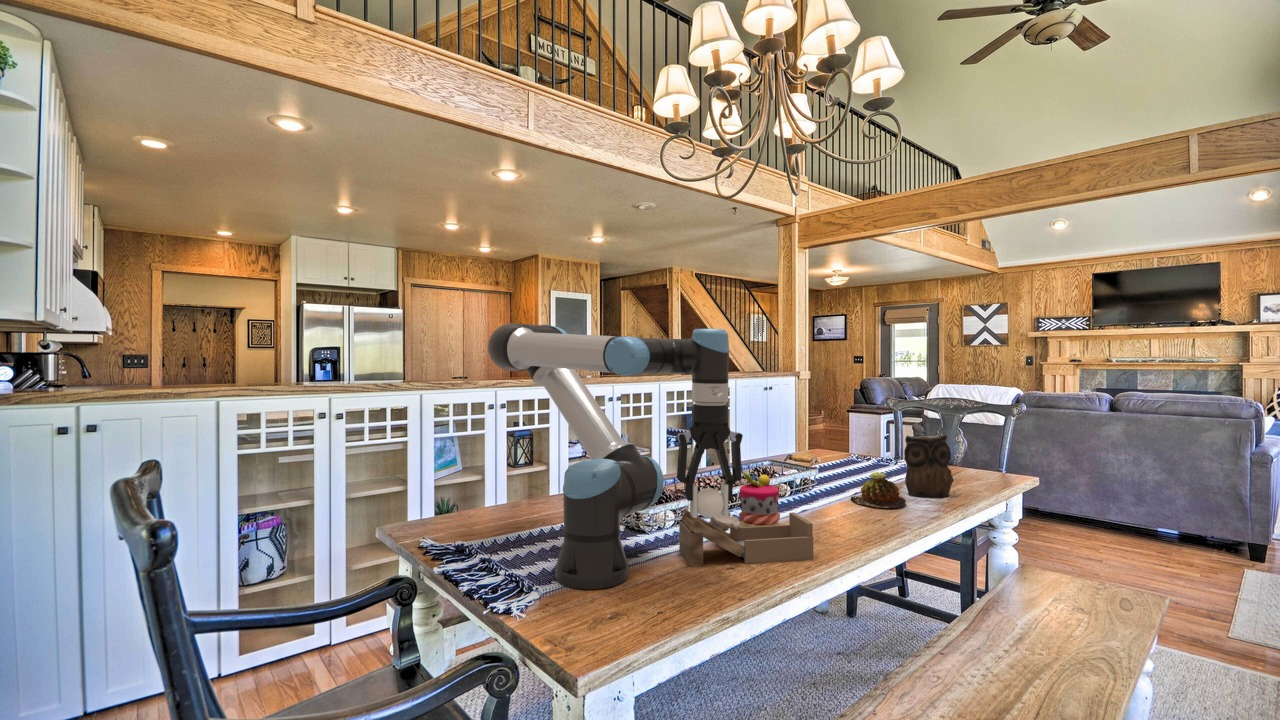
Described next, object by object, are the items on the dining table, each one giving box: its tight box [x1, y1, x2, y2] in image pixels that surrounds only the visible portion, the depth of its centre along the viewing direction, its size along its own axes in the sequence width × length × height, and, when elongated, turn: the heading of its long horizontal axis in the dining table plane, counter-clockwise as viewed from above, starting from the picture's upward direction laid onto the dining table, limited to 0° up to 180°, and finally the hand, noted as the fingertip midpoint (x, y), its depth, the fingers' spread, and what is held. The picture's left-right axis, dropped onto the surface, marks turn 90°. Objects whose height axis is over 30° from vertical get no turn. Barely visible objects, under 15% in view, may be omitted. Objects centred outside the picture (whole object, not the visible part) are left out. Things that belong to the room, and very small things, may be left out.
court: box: [729, 512, 814, 565], centre depth 138 cm, size 16×11×8 cm, turn 100°
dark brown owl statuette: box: [903, 434, 954, 499], centre depth 198 cm, size 13×13×20 cm
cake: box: [738, 471, 781, 527], centre depth 159 cm, size 10×11×15 cm
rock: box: [709, 511, 741, 532], centre depth 147 cm, size 6×14×7 cm, turn 4°
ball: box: [697, 487, 724, 519], centre depth 123 cm, size 6×6×6 cm
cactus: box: [850, 471, 907, 510], centre depth 188 cm, size 17×16×10 cm
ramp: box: [678, 509, 745, 567], centre depth 136 cm, size 13×10×10 cm
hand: (708, 515), depth 124 cm, fingers closed on ball, 6 cm apart
